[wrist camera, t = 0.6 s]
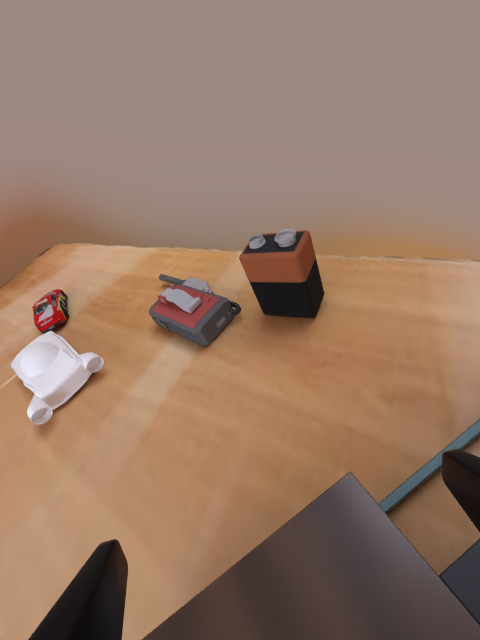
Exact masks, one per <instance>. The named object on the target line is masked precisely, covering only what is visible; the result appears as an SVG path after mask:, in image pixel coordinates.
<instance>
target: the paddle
mask: <svg viewBox="0 0 480 640" xmlns="http://www.w3.org/2000/svg"><path fill="white" fill-rule="evenodd" d="M439 577H440V578H441V580H442V581H443V582H444V583H445V584H446V586H447V587H448V588H449V589H450V590H451V592H452V593H453V594H454V595H455V596H456V597H457V599H458V600H459V601H460V602H461V603H462V605H463V606H464V607H465V608H466V609H467V611H468V612H469V613H470V614H471V615H472V616H473V618H474V619H475V620H476V621H477V622H478V624H479V625H480V539H479V540H478V541H477V542H476V543H475V544H473V545H472V546H471V547H470V548H469V549H468V550H467V551H466V552H465V553H464V554H462V555H461V556H460V557H459V558H458V559H457V560H456V561H455V562H454V563H453V564H451V565H450V566H449V567H448V568H447V569H446V570H445V571H444V572H443V573H442V574H440V576H439Z"/></svg>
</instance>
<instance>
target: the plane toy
mask: <svg viewBox="0 0 480 640" xmlns="http://www.w3.org/2000/svg"><path fill="white" fill-rule="evenodd" d="M103 365H104V360H103V358H101V357H100V356H99V355H97V354H95V353H92V352H88V353H83V354H78V353H77V352H76V351H75V350H74V349H73V348H72V347H71V346H70V345H69V344H68V343H67V341H66V340H65V339H64V338H62V337H61V336H60V335H56V334H55V333H54V332H53V331H49V332H47V333H45V334H43V335H41V336H39V337H37V338H36V339H35V340H33V341H32V342H31V343H29V344H28V345H27V346H26V347H25V348H24V349H23V350H22V351H21V352H19V353H18V354H17V356H16V357H15V359H14V360H13V362H12V363H11V364H10V366H11V368H12V369H13V370H14V371H15V373H16V374H17V376H18V377H19V378H20V379H21V380H22V381H23V382H24V384H23V385H24V386H26V387H27V388H29V389H30V390H31V391H32V392H33V393H34V396H33V398H32V401H31V403H30V405H29V407H28V410H27V414H28V416H29V418H30V420H31V422H32V423H33V424H35V425H40V424H43V423H45V422H47V421H48V420H49V419H50V418H51V416H52V413H53V411H52V410H54V409H55V408H57V407H59V406H60V405H62V404H64V403H65V402H66V401H67V400H68V399H69V398H70V397H71V396H72V395H73V394H74V393H75V392H77V391H78V390H79V389H80V388H81V387H82V386H83V385H84V384H85V383H86V381H87V380H88V378H89V377H90V375H91V374H92V373H95V372H98V371H99V370H100V369H101V368H102V367H103Z"/></svg>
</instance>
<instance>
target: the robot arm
mask: <svg viewBox="0 0 480 640" xmlns="http://www.w3.org/2000/svg"><path fill="white" fill-rule="evenodd" d="M442 477H443V480H444V482H445V484H446V486H447V487H448V489H449V490H450V491H451V493H452V494H453V496H454V497H455V498H456V500H457V501H458V503H459V504H460V505H461V507H462V508H463V510H464V511H465V512H466V514H467V515H468V517H469V518H470V519H471V521H472V522H473V524H474V525H475V526H476V528H477V529H478V531H479V532H480V457H477V456H475V455H472V454H470V453H468V452H465V451H463V450H460V449H453V450H449V451H445V452H443V454H442ZM127 576H128V564H127V560H126V557H125V555H124V553H123V550H122V548H121V546H120V543H119V541H118V540H116V539H114V540H110V541H106V542H103V543H101V544H100V545H99V546H98V547H97V548H96V549H95V551H94V552H93V553H92V555H91V556H90V557H89V559H88V560H87V562H86V563H85V564H84V566H83V567H82V568H81V570H80V571H79V572H78V574H77V575H76V576H75V578H74V579H73V580H72V582H71V583H70V584H69V586H68V587H67V588H66V590H65V591H64V592H63V594H62V595H61V596H60V598H59V599H58V600H57V602H56V603H55V604H54V606H53V607H52V608H51V610H50V611H49V612H48V614H47V615H46V617H45V618H44V619H43V621H42V622H41V623H40V625H39V626H38V627H37V629H36V630H35V631H34V633H33V634H32V635H31V637H30V638H29V639H28V640H121V639H122V629H123V618H124V608H125V597H126V586H127Z"/></svg>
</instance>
